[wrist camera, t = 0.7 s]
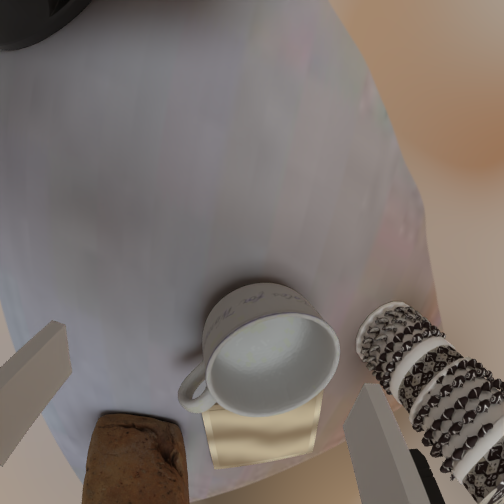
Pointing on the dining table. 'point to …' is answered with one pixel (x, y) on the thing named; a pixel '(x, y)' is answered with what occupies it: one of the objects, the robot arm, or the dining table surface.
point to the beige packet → (260, 434)
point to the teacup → (262, 353)
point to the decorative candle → (440, 395)
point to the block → (135, 462)
